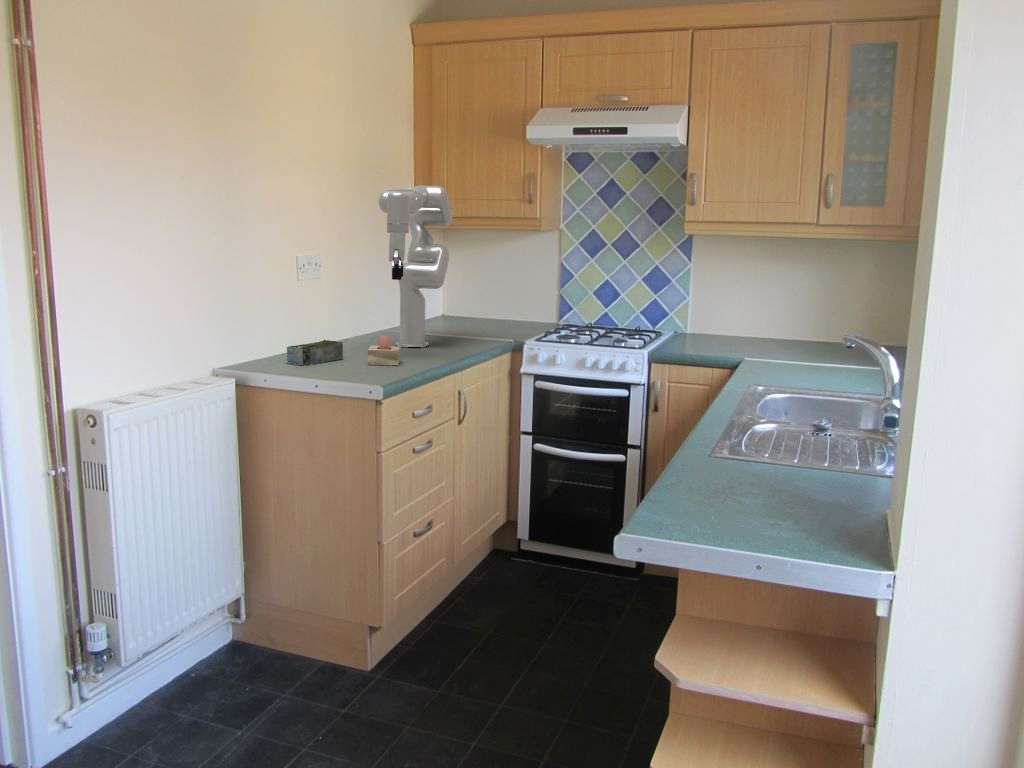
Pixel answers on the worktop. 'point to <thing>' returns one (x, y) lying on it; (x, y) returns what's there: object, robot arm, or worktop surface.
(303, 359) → the weathered blue-grey brick
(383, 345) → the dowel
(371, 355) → the socket block
